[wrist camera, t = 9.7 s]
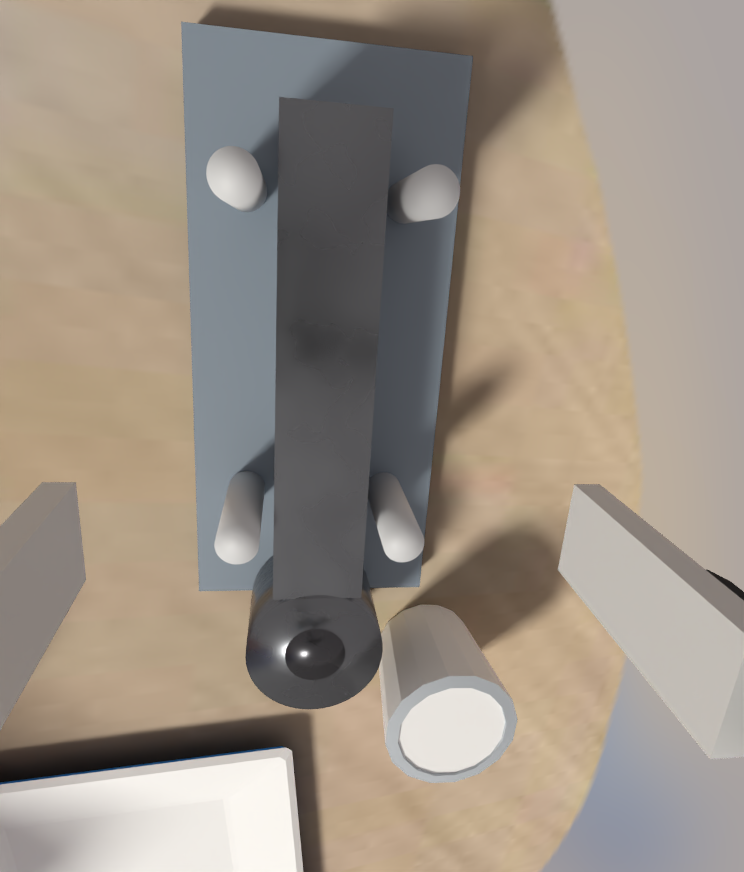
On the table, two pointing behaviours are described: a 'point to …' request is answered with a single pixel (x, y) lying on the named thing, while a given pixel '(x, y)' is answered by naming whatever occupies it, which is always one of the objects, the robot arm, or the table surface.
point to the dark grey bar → (323, 405)
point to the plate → (157, 817)
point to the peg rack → (257, 280)
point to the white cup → (441, 698)
